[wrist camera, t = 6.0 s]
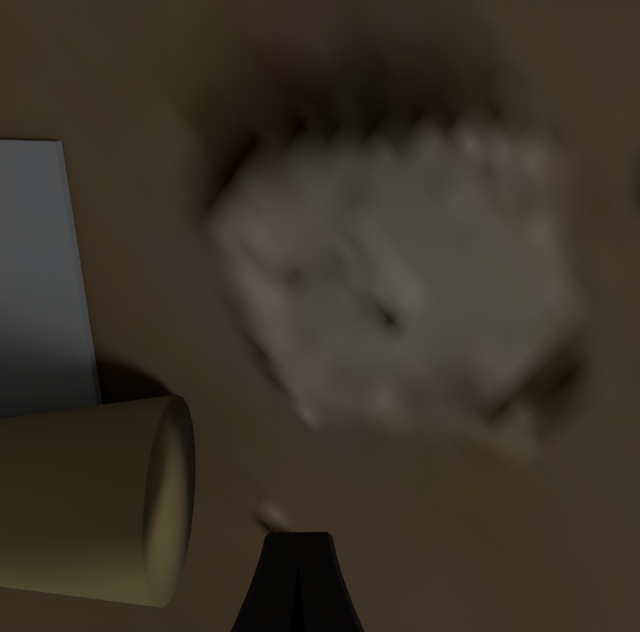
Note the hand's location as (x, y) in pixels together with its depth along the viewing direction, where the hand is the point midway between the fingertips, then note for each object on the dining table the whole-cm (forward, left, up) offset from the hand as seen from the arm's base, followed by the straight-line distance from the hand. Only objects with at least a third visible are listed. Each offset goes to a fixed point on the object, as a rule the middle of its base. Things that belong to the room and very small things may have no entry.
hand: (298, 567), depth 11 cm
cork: (-2, +4, -4) cm, 6 cm away
